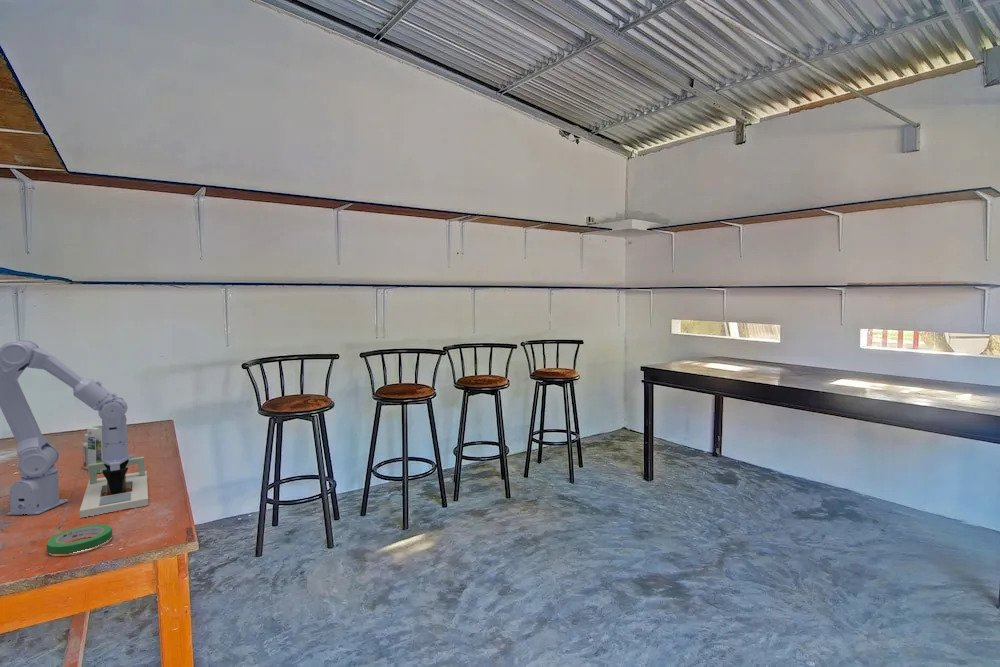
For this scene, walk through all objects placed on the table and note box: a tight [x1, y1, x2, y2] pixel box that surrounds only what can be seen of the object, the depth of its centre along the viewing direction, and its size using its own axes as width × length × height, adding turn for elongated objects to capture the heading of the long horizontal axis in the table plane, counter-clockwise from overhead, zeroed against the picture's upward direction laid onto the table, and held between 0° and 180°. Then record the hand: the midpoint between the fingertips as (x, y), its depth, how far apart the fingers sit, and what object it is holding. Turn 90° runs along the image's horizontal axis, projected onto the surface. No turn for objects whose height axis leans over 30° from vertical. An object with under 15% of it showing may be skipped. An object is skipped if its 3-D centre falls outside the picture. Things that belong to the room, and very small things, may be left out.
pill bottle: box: [82, 433, 88, 470], centre depth 170 cm, size 6×6×11 cm
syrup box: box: [86, 424, 106, 474], centre depth 167 cm, size 6×6×14 cm
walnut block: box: [107, 475, 127, 496], centre depth 143 cm, size 4×4×5 cm
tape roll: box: [46, 523, 113, 554], centre depth 112 cm, size 11×11×3 cm
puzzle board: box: [79, 470, 149, 519], centre depth 143 cm, size 30×14×2 cm, turn 35°
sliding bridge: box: [88, 456, 146, 483], centre depth 151 cm, size 2×13×5 cm, turn 125°
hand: (117, 490), depth 143 cm, fingers open, 7 cm apart
